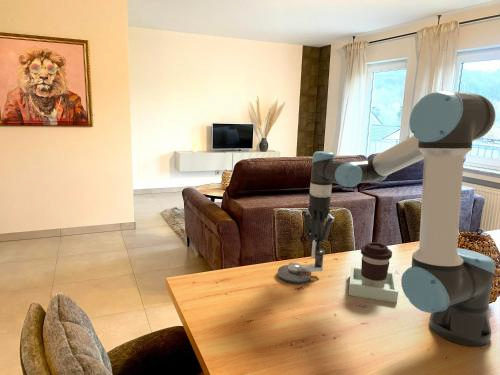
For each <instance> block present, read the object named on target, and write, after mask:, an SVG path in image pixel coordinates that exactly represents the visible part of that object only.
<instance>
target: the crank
mask: <svg viewBox="0 0 500 375" xmlns="http://www.w3.org/2000/svg"><path fill="white" fill-rule="evenodd" d="M324 255H325V250H324V249H322V248H321V249H319V250H317V249H316V250H315V258H314V263H313V264H301V263H298V262H289V263H288V264H287V265H288V272H290V273H294V274H298V273H301V272H311V273H313V272H323V268H324V265H323V262H324Z"/></svg>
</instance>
